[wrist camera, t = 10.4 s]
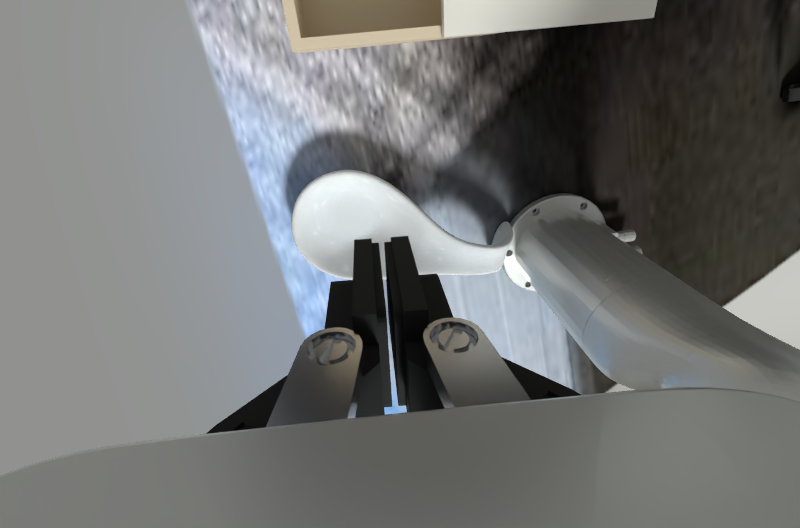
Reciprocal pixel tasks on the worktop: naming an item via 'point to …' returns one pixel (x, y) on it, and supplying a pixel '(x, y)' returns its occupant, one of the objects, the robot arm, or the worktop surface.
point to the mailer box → (361, 23)
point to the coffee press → (791, 92)
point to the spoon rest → (381, 228)
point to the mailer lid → (535, 14)
